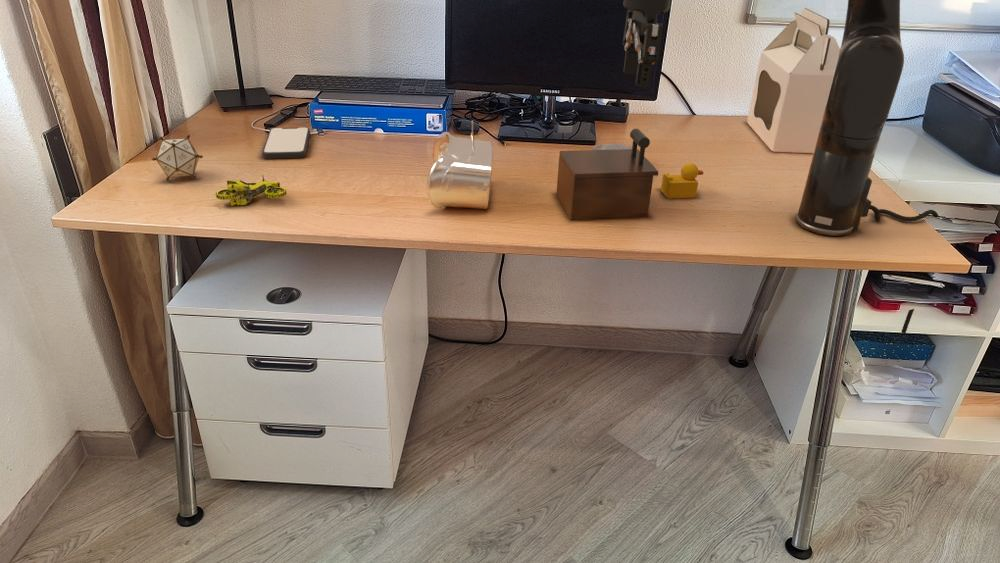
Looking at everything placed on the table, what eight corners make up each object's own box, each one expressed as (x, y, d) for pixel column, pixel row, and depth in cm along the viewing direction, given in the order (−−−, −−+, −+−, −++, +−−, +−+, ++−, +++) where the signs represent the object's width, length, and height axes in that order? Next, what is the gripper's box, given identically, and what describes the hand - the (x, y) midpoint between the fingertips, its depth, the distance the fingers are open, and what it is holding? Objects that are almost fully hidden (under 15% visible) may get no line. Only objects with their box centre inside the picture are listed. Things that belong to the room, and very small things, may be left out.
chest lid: (636, 152, 134) (640, 122, 131) (658, 175, 124) (662, 143, 121) (559, 154, 131) (561, 124, 129) (574, 178, 121) (577, 145, 119)
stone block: (586, 183, 145) (636, 178, 143) (584, 160, 143) (634, 155, 141) (592, 165, 155) (638, 160, 153) (589, 143, 153) (637, 139, 151)
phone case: (306, 159, 148) (311, 133, 162) (305, 152, 147) (310, 126, 161) (261, 160, 147) (270, 134, 160) (260, 153, 146) (269, 127, 160)
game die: (174, 196, 139) (137, 153, 136) (210, 171, 142) (175, 129, 139) (180, 188, 131) (141, 143, 128) (218, 162, 135) (181, 117, 132)
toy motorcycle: (212, 188, 123) (219, 174, 129) (215, 208, 125) (222, 194, 131) (284, 185, 125) (287, 172, 131) (286, 206, 127) (290, 191, 133)
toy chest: (627, 192, 137) (632, 153, 134) (647, 217, 127) (653, 176, 124) (556, 194, 135) (559, 155, 131) (570, 220, 125) (574, 178, 122)
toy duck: (666, 198, 135) (671, 168, 132) (659, 190, 138) (663, 160, 135) (702, 197, 136) (708, 167, 133) (694, 189, 140) (699, 159, 137)
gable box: (746, 122, 179) (770, 4, 165) (799, 124, 179) (827, 6, 165) (772, 152, 160) (801, 21, 146) (831, 154, 160) (867, 23, 146)
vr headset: (433, 177, 141) (431, 104, 134) (491, 178, 141) (492, 106, 134) (427, 215, 125) (425, 135, 118) (492, 216, 126) (493, 136, 119)
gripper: (686, -15, 109) (668, 91, 117) (660, -27, 121) (645, 70, 129) (638, -17, 108) (623, 90, 116) (617, -29, 120) (605, 69, 128)
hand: (635, 80), depth 122 cm, fingers open, 8 cm apart
